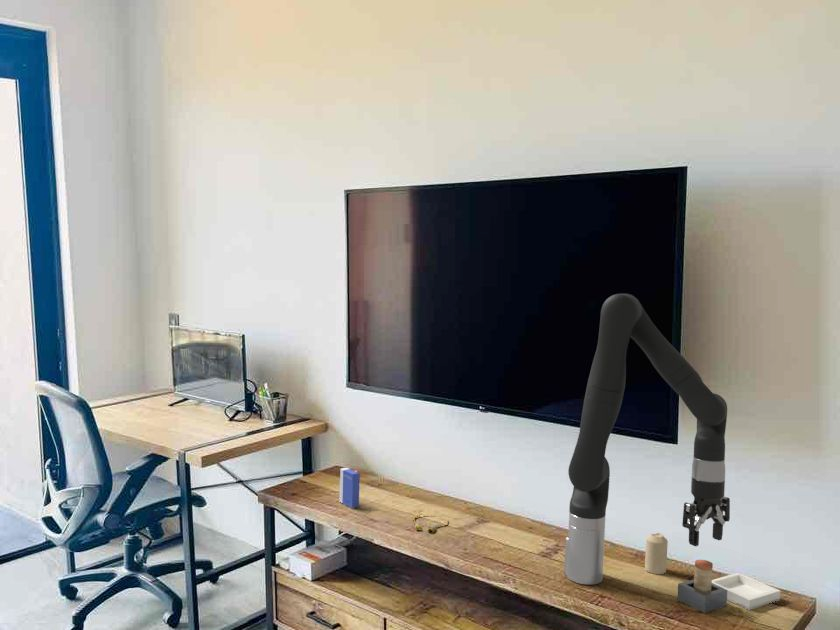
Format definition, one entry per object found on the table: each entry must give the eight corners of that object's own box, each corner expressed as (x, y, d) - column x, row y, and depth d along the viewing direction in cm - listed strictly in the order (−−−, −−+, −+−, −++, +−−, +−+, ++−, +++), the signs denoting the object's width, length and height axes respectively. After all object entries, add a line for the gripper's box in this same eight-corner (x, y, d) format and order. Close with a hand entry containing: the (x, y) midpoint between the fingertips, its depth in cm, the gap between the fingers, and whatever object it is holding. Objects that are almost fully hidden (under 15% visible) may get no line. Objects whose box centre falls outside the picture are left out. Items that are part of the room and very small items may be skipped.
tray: (707, 590, 185) (707, 581, 185) (737, 581, 191) (737, 572, 191) (749, 610, 175) (749, 600, 175) (779, 600, 181) (780, 590, 181)
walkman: (358, 507, 242) (359, 471, 241) (351, 508, 240) (352, 473, 240) (345, 501, 248) (346, 466, 247) (339, 502, 246) (339, 467, 246)
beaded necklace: (397, 527, 226) (398, 521, 225) (427, 514, 238) (427, 508, 238) (429, 536, 218) (429, 530, 218) (458, 523, 231) (458, 517, 231)
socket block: (677, 599, 179) (678, 583, 179) (699, 593, 184) (699, 577, 183) (704, 612, 173) (705, 596, 172) (726, 606, 177) (727, 590, 176)
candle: (654, 565, 201) (655, 529, 200) (670, 572, 196) (672, 535, 196) (640, 568, 198) (642, 532, 197) (656, 576, 193) (658, 539, 193)
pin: (689, 601, 179) (691, 561, 178) (700, 597, 181) (702, 558, 180) (703, 607, 175) (705, 567, 175) (714, 604, 177) (716, 564, 177)
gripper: (714, 469, 183) (711, 532, 184) (675, 476, 176) (673, 542, 177) (740, 476, 177) (737, 542, 177) (701, 484, 169) (698, 552, 170)
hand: (705, 542), depth 177 cm, fingers open, 8 cm apart
